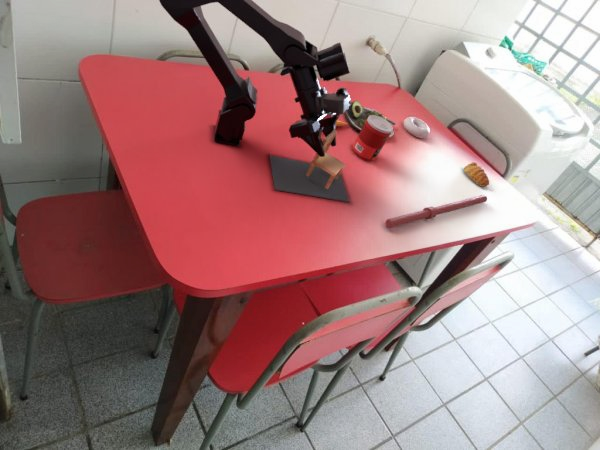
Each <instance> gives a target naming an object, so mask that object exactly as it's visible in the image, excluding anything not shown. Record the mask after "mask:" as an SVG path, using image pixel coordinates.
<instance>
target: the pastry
mask: <svg viewBox="0 0 600 450" xmlns="http://www.w3.org/2000/svg"><path fill="white" fill-rule="evenodd" d="M463 171H464V174H466V175H467V177H468V178H469V180H471V181H472V182H473V183H475V184H476V185H477V186H480V187H483V188H485V187H488V186H489V185H490V180H489V177H488V174H487V173H486V172H485V169H484V168H482V166H481V165H479V164H478V163H477V162H475V161H472V162H469V163H468V164H466V166H464V167H463Z"/></svg>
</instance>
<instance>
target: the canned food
mask: <svg viewBox="0 0 600 450" xmlns="http://www.w3.org/2000/svg"><path fill="white" fill-rule="evenodd" d="M393 130H394V127H393V125H391V124H390V123H389V122H388V121H387V120H385V119H384V118H382V117H379V116H376V115H370V116H369V117H368V118H367V120H366V122H365V124H364V126H363V127H362V129H361V131H360V133H358V135H357V137H356V138H355V140H354V142H353V144H352V151H353V153H354V154H355V155H356V156H357V157H358V158H359V159H361V160H363V161H367V162H373V161H374V160H375V159H377V157H378V156H379V154H380V152H381V151H382V149H383V147H384V146H385V144H386V143H387V141H388V140H389V138H390V137H389V136H390V134H391V133H392V131H393ZM393 132H394V131H393Z"/></svg>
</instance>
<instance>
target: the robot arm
mask: <svg viewBox="0 0 600 450" xmlns="http://www.w3.org/2000/svg"><path fill="white" fill-rule="evenodd" d="M158 1H159V3H160V5H161V7H162V8H163V10H165V12H167V13H168V15H169V16H170V17H171V19H172V20H173V21H174V22H176V23H177V24H178V25H180V26H181V27H182V28H184V29H185V30H186V31H187V33H188V34H189V36H190V37H191V39H192V41H193V43H194V44H195V45H196V47H197V48H198V50H199V52H200V53H201V55H202V56H203V58H204V60H205V61H206V63H207V64H208V67H209V68H210V69H211V71H212V72H213V74H214V76H215V77H216V79H217V80H218V82H219V84H220V85H221V87H222V88H223V92H224V97H223V101H222V105H221V109H219V110H218V114H217V118H216V121H215V124H214V125H213V141H214V142H216V143H220V144H225V145H230V146H235V147H240V146H241V141H243V137H244V134H245V131H246V122H247V121H250V120H251V119H253V118H254V117H255V115H256V112H257V103H258V89H257V88H256V87H255V86H254V84H253V82H252V80H251V79H252V78H250V77H249V76H248V77H246V78H245V79H244V78H243V77H241V76H240V75H239V73H237V70H236V69H235V67H234V65H233V64H232V62H231V60H230V59H229V57H228V55H227V53H226V51H225V50H224V49H223V47H222V44H220V42H219V40H218V38H217V36H216V35H215V33H214V32H213V30H212V28H211V27H210V25H209V23H208V22H207V20H206V18H205V16H204V13H203V9H202V6H205V5H208V4H214V3H218V4H220V6H222V7H224V9H226V10H227V11H228V12H230V14H232V15H233V16H234V17H236V18H237V19H238V20H240V21H241V22H242V23H244V24H245V26H247V27H248V28H250V29H251V30H252V31H253V32H255V33H256V34H257V35H259V37H261V38H262V39H263V40H265V42H266V43H267V44H268V45H269V47H270V48H271V50H272V52H273V53H274V54H275V55H276V57H278V58H279V60H280V61H282V63H283V67H282V69H281V71H280V73H279V74H280V76H281V77H284V76H285V75H288V74H289V76H290V80H291V82H292V85H293V88H294V91H295V94H296V97H295V98H294V102H295V103H299V106H300V108H301V112H302V114H301V115H300V119H299V120H296V121H295V122H294V123H292V124H290V126H289V128H288V132H289V135H290V138H291V139H296V138H298V139H301V140H302V141H303V142H305V143H306V144H307V145H308V146H309V147H310V148H311V149H312V150H313V151H314V152H315V154H316V153H317V154H318V155H319V156H320V157H324V156H325V153H324V147H323V143H322V141H323V138H322V134H323V135H324V138H326V137H327V136H328V135H329V134H330V133H331V132H332V131H333V130H334V129H335V130H336V131H337V129H336V128H337V126H336V121H337V120H339V118H340V116H341V115H344V112H345V111H346V110H348V104H349V101H350V102H351V100H352V98H351V97H350V94H349V91H348V90H347V88H346V87H340V88H338V89H337V90H336V92H332V93H328V91H327V88H325V86H322V87H321V84H320V82H319V78H320V79H322V80H323V82H325V81H326V82H330V81H331V80H335V79H338V78H340V77H343V76H346V75H348V74H350V73H351V71H350V67H349V64H348V60H347V56H346V53H345V52H344V49H343V47H342V43H341V42H336V43H334V44H333V45H331V46H328V47H326V48H323V49H321V50H319V51H318V47H317V46H316V45H315V44H313V43H312V42H310V41H308V40H307V39H306V37H305V35H304V34H303V33H302V32H301V31H300V30H299V29H297V28H295V27H293V26H291V25H289V24H288V23H285V22H281V21H280V20H277V19H276V18H274V17H273V16H272V15H271V14H270V13H268V12H267V11H266V10H264V9H263V8H262V7H261V6H259V4H257V3H256V2H255V1H253V0H158ZM315 67H316V69H315ZM317 73H318V75H317ZM318 76H319V78H318ZM301 119H302V120H301ZM336 146H337V134H336V135H335V137H334V139H333V141H332V143H331V145H330V147H331V148H333V147H336Z"/></svg>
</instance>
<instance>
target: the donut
mask: <svg viewBox="0 0 600 450" xmlns="http://www.w3.org/2000/svg"><path fill="white" fill-rule="evenodd" d="M403 128H404V130H405V131H406V132H408V133H409V134H410V135H411V136H413V137H416V138H419V139H424V138H427V137H428V136H429V135H430V131H431V130H430V127H429V125H428V124H427V123H426V122H425V121H423V120H422V119H420V118H418V117H416V116H408V117H406V118H405V119H404V120H403Z"/></svg>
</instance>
